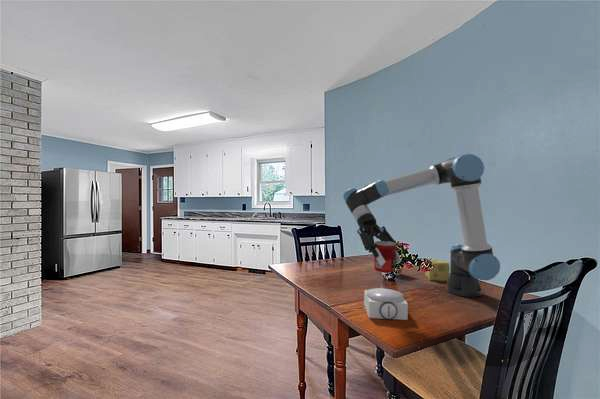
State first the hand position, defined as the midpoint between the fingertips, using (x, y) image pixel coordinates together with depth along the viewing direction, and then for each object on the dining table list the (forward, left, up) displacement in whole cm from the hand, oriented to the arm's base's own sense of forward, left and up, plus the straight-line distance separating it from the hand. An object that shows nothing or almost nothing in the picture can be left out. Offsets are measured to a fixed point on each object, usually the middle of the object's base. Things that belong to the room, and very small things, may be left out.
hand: (391, 262), depth 113 cm
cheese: (-37, -57, -20) cm, 71 cm away
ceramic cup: (-17, -63, -20) cm, 68 cm away
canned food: (+2, -3, -4) cm, 5 cm away
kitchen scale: (+2, -3, -20) cm, 20 cm away
